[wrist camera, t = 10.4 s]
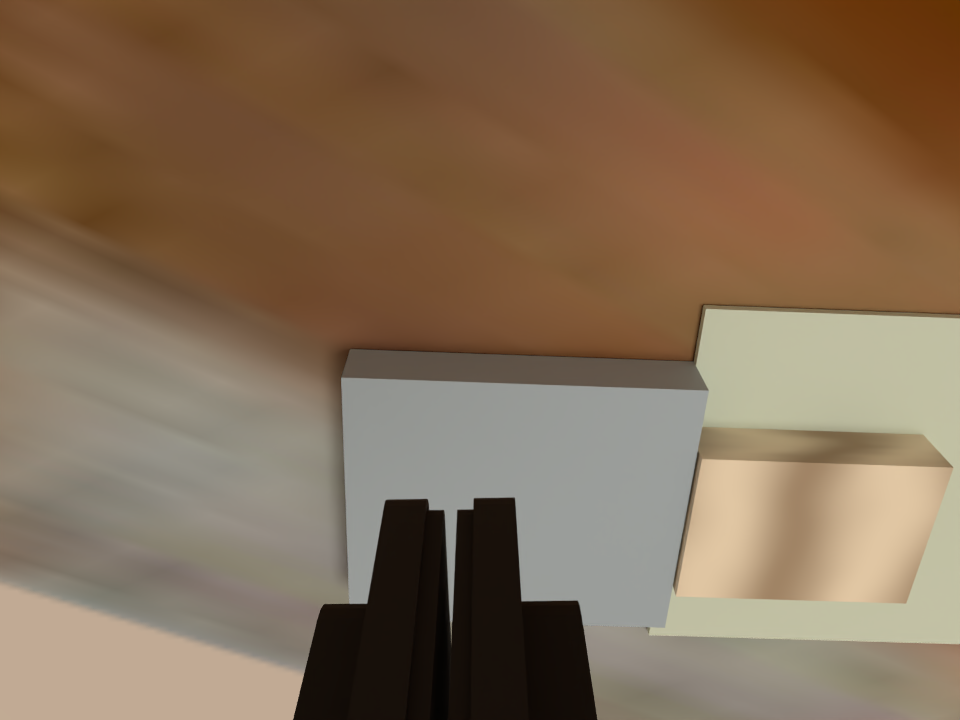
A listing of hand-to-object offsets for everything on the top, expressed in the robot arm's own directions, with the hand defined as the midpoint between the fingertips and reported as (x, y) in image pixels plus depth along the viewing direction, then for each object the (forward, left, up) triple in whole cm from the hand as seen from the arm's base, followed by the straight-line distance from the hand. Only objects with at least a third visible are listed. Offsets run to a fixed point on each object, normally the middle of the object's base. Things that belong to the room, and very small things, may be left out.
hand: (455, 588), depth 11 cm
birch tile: (-14, +14, -22) cm, 29 cm away
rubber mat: (-17, +13, -22) cm, 31 cm away
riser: (-2, +13, -22) cm, 26 cm away
